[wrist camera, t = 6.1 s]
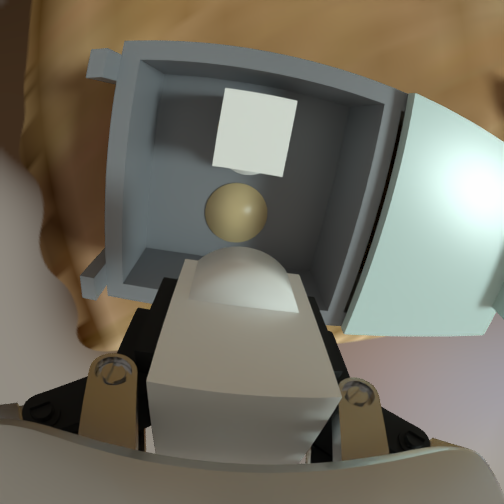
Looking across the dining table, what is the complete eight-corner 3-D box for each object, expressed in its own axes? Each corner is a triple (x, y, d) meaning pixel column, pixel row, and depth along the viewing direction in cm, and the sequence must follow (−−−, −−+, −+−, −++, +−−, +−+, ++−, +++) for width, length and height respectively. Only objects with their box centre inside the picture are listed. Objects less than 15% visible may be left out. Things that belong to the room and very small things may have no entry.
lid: (408, 93, 14) (439, 91, 11) (539, 171, 16) (565, 181, 13) (340, 327, 21) (354, 358, 18) (479, 330, 22) (496, 350, 20)
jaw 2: (187, 238, 10) (143, 354, 5) (304, 255, 10) (355, 373, 5) (179, 354, 12) (158, 468, 7) (272, 364, 12) (287, 478, 7)
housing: (144, 61, 19) (95, 34, 11) (491, 155, 22) (553, 176, 14) (125, 251, 25) (84, 309, 17) (445, 293, 29) (488, 341, 21)
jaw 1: (228, 96, 20) (225, 87, 15) (283, 106, 20) (297, 100, 15) (216, 165, 22) (210, 178, 17) (270, 173, 22) (279, 189, 17)
